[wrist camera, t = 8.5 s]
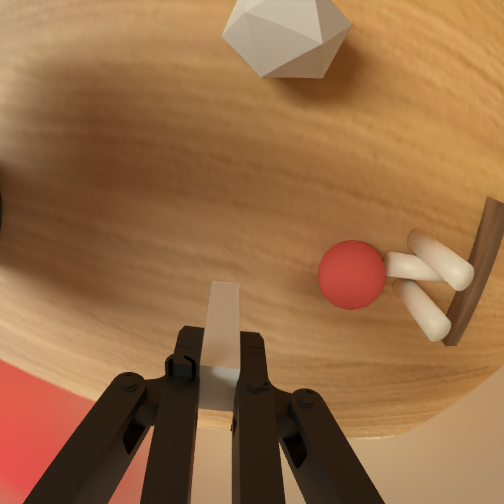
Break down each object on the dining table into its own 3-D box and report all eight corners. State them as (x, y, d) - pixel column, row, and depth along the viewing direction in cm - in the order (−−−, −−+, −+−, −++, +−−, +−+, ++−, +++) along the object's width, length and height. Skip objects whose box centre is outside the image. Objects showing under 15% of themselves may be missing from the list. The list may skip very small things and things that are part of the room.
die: (332, 91, 23) (391, 15, 14) (253, 119, 21) (304, 15, 11) (276, 33, 24) (314, -44, 15) (197, 52, 21) (218, -46, 12)
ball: (377, 303, 28) (326, 276, 31) (401, 250, 25) (344, 223, 28) (357, 333, 24) (297, 300, 26) (387, 272, 21) (318, 238, 24)
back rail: (437, 334, 33) (445, 346, 30) (487, 196, 26) (501, 202, 24) (447, 334, 33) (456, 345, 31) (497, 200, 26) (511, 206, 24)
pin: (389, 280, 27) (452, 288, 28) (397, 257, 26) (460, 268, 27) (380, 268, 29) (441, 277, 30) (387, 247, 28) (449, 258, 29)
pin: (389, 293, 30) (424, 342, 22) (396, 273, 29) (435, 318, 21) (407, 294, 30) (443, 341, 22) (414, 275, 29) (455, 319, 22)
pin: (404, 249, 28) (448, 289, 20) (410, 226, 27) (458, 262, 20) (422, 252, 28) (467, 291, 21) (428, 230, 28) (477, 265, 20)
